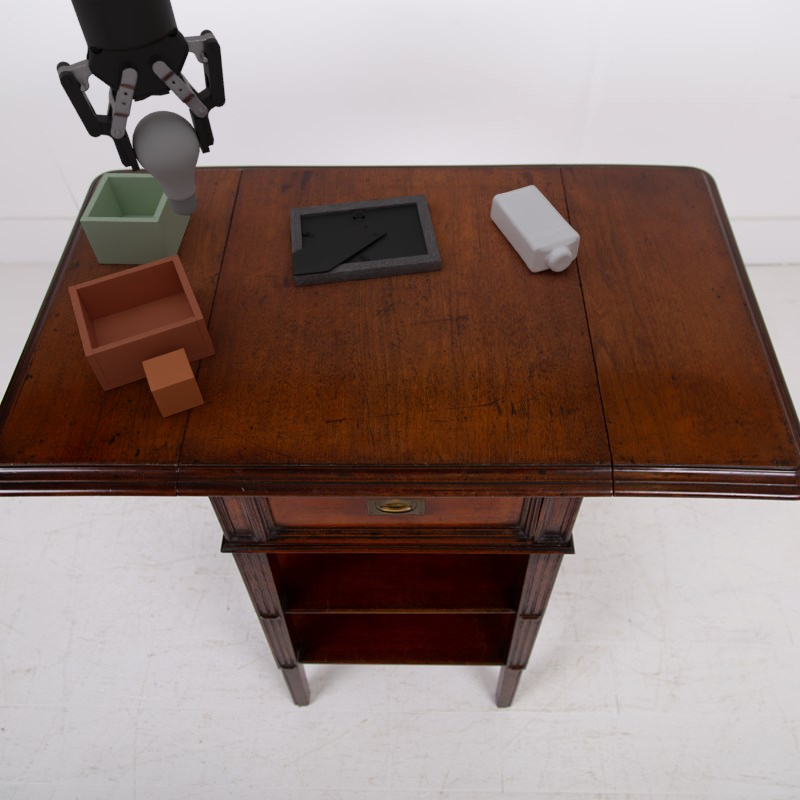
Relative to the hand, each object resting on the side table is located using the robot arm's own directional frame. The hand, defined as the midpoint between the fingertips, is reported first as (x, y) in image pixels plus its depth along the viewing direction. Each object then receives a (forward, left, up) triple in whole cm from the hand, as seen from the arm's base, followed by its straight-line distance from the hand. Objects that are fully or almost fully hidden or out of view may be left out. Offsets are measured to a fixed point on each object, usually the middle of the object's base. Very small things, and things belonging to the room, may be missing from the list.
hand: (170, 156), depth 73 cm
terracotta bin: (-8, 0, -22) cm, 23 cm away
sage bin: (-5, +18, -22) cm, 29 cm away
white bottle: (+40, -5, -22) cm, 46 cm away
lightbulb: (0, 0, -7) cm, 7 cm away
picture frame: (+20, +5, -22) cm, 30 cm away
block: (-7, -10, -22) cm, 25 cm away
